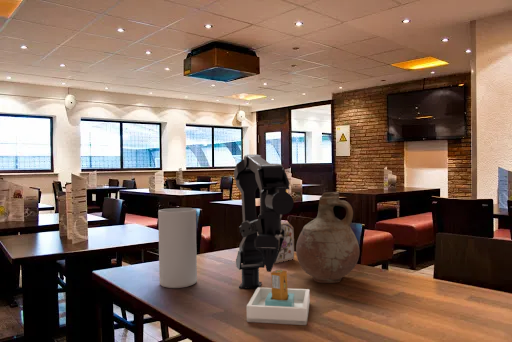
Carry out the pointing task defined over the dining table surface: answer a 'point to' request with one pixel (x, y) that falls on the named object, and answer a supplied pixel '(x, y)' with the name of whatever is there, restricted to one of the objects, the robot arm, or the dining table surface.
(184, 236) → the cylinder vase
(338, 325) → the dining table surface
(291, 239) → the decorative jar
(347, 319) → the dining table surface
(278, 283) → the supplement box
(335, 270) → the jug
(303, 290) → the walled tray
